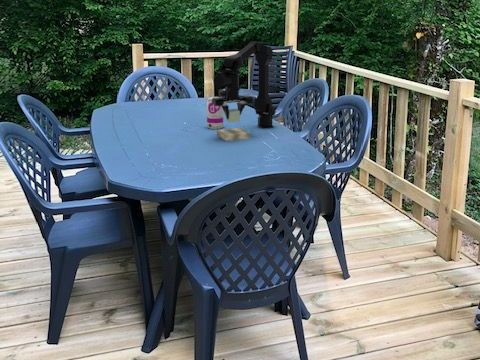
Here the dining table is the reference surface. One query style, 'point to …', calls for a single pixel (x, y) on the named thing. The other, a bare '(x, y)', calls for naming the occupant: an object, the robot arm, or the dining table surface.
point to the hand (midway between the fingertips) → (232, 118)
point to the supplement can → (214, 115)
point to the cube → (234, 115)
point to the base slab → (233, 134)
